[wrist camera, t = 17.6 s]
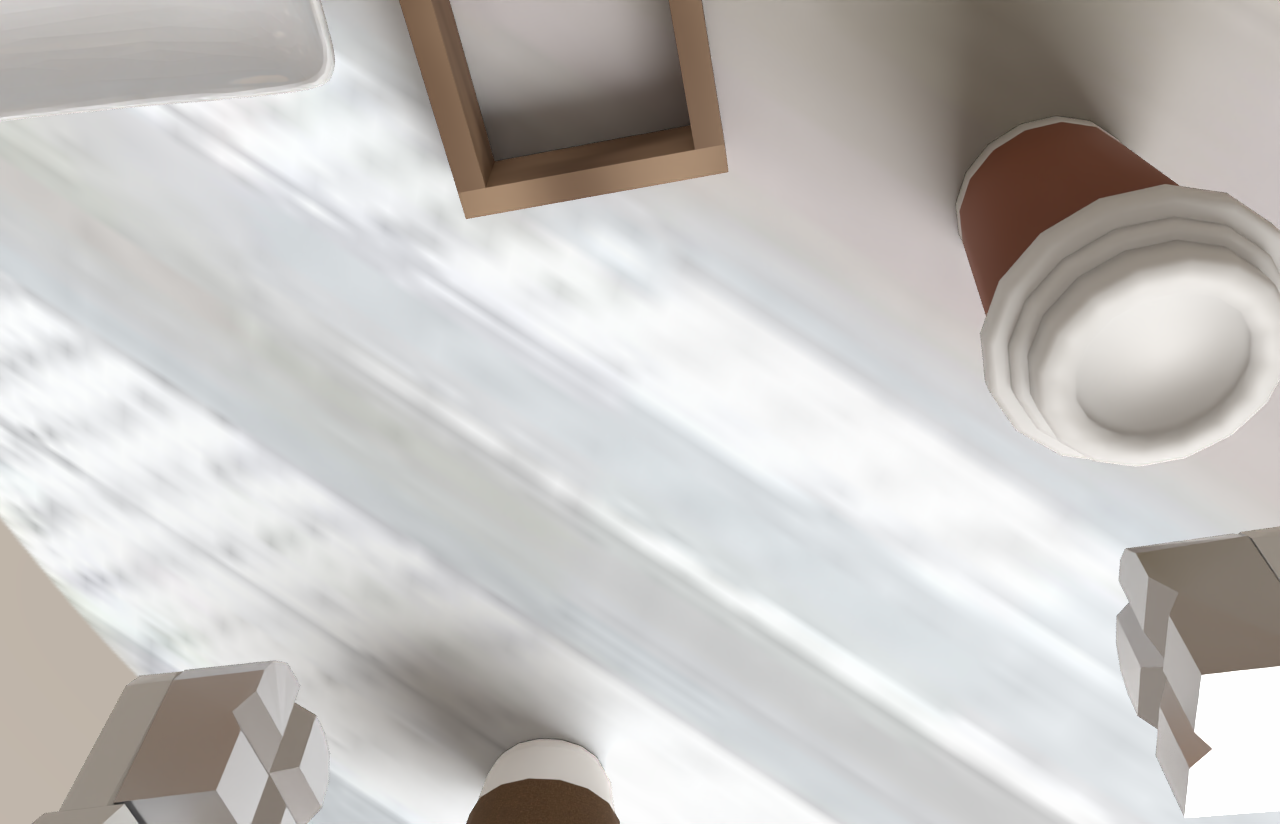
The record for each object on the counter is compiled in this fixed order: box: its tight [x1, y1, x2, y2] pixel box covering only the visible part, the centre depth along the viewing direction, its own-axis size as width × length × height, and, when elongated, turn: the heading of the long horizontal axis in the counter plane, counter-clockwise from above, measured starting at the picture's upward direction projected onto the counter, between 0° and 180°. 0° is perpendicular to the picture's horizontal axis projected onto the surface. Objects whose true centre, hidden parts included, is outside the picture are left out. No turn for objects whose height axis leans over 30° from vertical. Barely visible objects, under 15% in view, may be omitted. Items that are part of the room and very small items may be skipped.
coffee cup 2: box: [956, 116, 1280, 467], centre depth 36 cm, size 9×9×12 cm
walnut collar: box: [399, 0, 728, 219], centre depth 37 cm, size 9×9×2 cm
